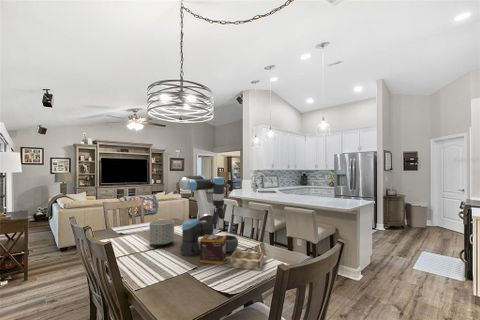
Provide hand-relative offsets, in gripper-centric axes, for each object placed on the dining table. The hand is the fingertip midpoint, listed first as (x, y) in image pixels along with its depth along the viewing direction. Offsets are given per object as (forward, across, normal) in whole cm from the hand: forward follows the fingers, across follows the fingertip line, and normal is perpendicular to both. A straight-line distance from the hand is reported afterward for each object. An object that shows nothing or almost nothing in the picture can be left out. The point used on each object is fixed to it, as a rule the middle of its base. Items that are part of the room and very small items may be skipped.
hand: (218, 230), depth 166 cm
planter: (+20, +21, +54) cm, 62 cm away
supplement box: (+19, -3, +2) cm, 20 cm away
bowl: (+20, +17, -3) cm, 26 cm away
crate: (+19, -4, -20) cm, 28 cm away
